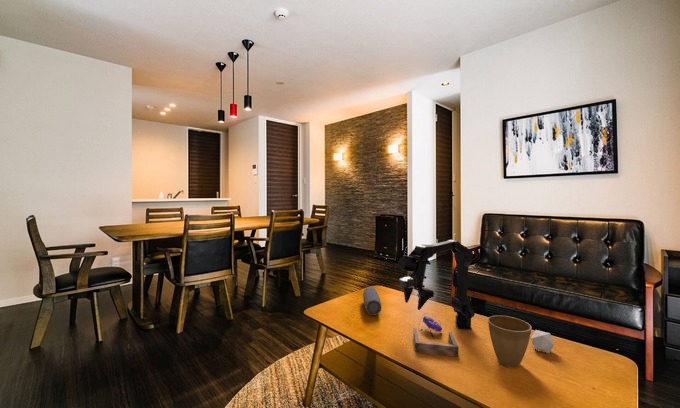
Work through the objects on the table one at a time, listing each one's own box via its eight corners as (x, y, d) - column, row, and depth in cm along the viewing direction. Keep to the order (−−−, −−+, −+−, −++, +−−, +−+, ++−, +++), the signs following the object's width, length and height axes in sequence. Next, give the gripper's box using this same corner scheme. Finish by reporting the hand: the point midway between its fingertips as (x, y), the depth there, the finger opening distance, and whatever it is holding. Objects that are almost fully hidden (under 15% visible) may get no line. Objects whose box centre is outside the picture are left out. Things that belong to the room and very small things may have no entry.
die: (555, 351, 126) (542, 328, 131) (562, 350, 119) (548, 326, 124) (536, 356, 127) (523, 333, 132) (542, 356, 120) (528, 331, 125)
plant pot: (529, 359, 118) (531, 320, 118) (530, 378, 106) (531, 335, 105) (488, 348, 126) (489, 312, 126) (484, 365, 114) (485, 324, 113)
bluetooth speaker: (382, 317, 156) (382, 299, 156) (365, 317, 156) (365, 298, 156) (377, 302, 179) (377, 285, 179) (362, 301, 179) (362, 285, 179)
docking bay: (451, 340, 133) (452, 331, 132) (458, 356, 119) (458, 347, 119) (413, 336, 136) (413, 328, 136) (415, 352, 123) (415, 342, 122)
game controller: (449, 323, 141) (439, 325, 133) (442, 339, 142) (431, 343, 134) (430, 310, 149) (419, 311, 141) (423, 325, 150) (412, 328, 142)
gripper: (392, 265, 141) (386, 298, 140) (417, 276, 124) (410, 312, 123) (411, 268, 145) (405, 299, 145) (437, 278, 128) (431, 314, 127)
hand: (412, 306), depth 135 cm, fingers open, 9 cm apart
